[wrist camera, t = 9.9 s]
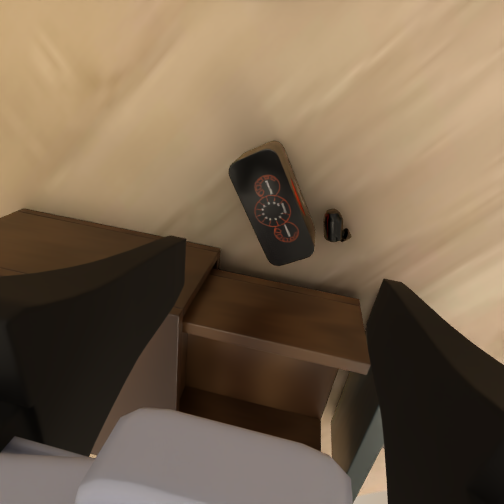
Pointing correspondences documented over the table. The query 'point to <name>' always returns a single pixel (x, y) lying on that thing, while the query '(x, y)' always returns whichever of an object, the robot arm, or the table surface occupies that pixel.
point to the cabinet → (96, 248)
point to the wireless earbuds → (279, 205)
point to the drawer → (281, 365)
